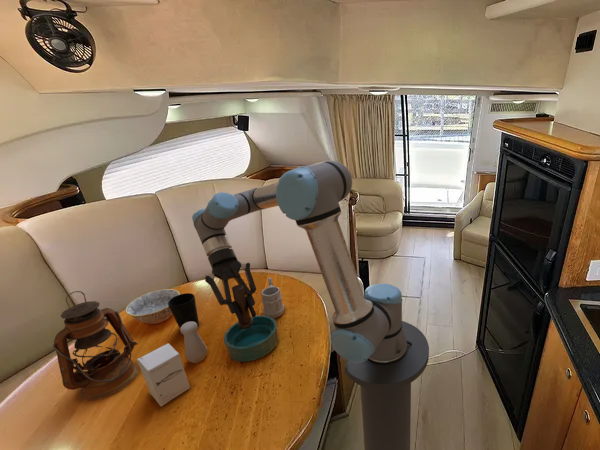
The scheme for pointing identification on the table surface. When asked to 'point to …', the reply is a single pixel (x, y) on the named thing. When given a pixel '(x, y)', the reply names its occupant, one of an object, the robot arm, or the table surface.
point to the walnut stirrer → (242, 306)
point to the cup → (184, 309)
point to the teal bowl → (251, 339)
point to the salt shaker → (193, 343)
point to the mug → (272, 301)
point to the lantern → (102, 367)
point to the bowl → (152, 306)
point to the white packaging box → (164, 373)
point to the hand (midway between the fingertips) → (247, 318)
